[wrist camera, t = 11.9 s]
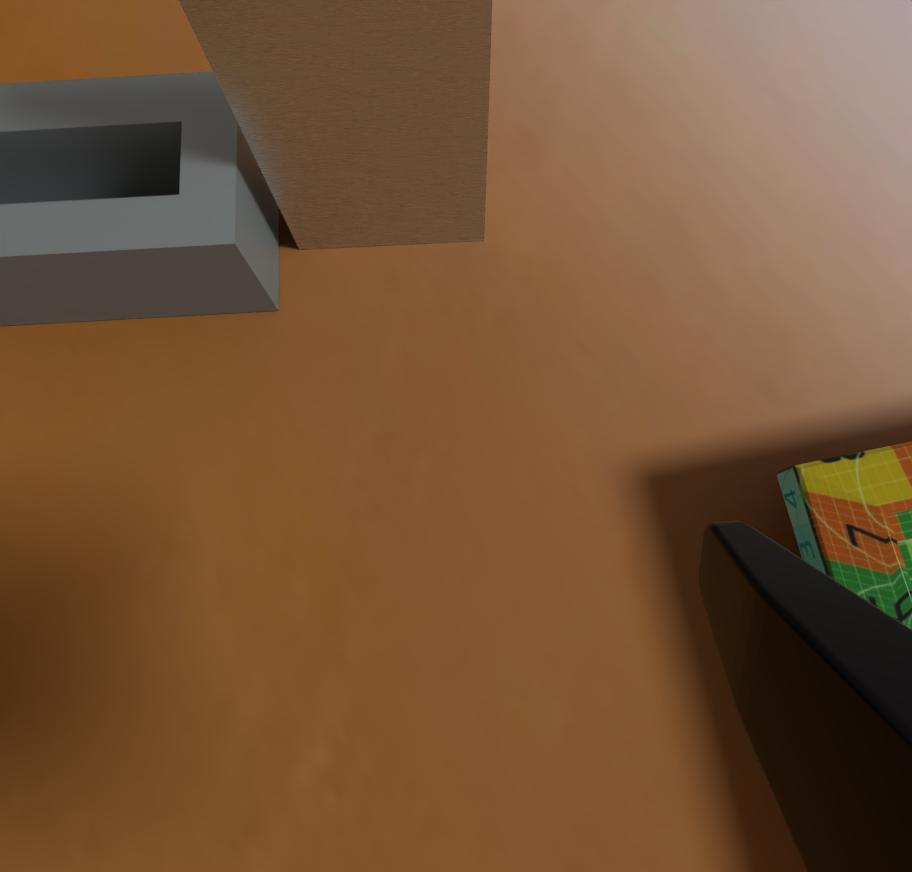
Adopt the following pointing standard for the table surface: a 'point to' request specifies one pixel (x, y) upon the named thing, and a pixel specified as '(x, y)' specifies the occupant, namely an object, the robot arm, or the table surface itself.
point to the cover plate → (360, 112)
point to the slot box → (130, 203)
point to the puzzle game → (857, 522)
